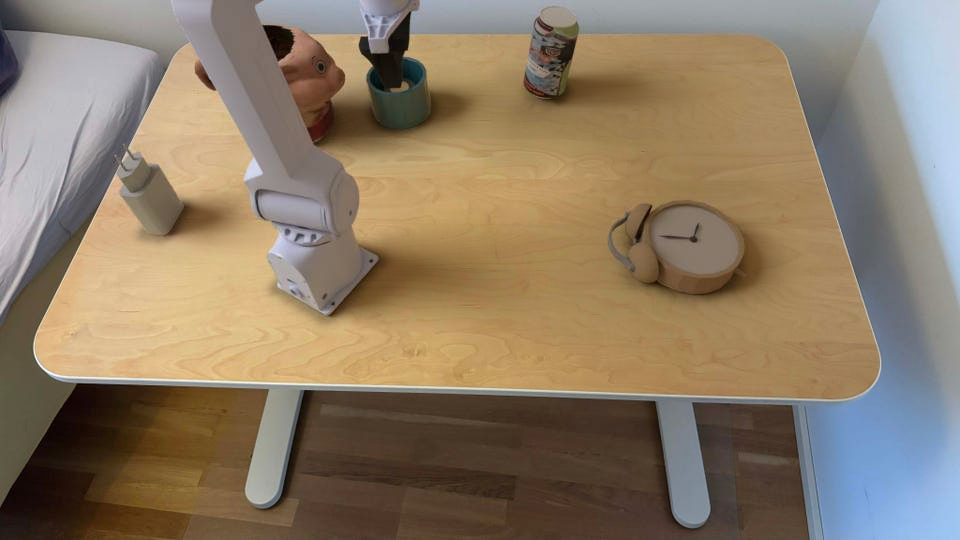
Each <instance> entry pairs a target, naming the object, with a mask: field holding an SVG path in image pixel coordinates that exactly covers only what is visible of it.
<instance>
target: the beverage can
mask: <svg viewBox="0 0 960 540" xmlns="http://www.w3.org/2000/svg"><path fill="white" fill-rule="evenodd" d="M579 33H580V26H579V23H578V16H577V15H576V13H574V12H573V10H571V9H569V8H566V7H562V6H557V5H555V6H551V5H550V6H547V7H544V8H543V9H541V11H540V12H539V14H538V15H537V16H536V18H535V19H534V22H533V27H532V33H531V38H530V44H529V48H528V55H527V60H526V66H525V71H524V77H523V86H524V88H525V90H526V91H527V92H528V93H530V94H531V95H533V96H534V97H535V98H539V99H543V100H545V99H546V100H550V99H554V98H558V97H560V96H561V95H562V94H564V92H565V91H566V86H567V83H568V79H569V75H570V71H571V66H572V61H573V57H574V53H575V49H576V45H577V41H578V37H579Z"/></svg>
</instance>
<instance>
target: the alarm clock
mask: <svg viewBox="0 0 960 540" xmlns="http://www.w3.org/2000/svg"><path fill="white" fill-rule="evenodd" d="M652 209H653V204H650V203H645V202H641V203H640V204H639V203H638V205H636V206H635V207H633V208H632V210H630V211H629V212H627V211H625V212H624V214H623V215H624V217H623V218H620V219H618V220H616V221H615V222H614V223H613V224H612V226H611V227H610V230H609V233H608V235H607V246H608V249H609V252H610V253H611V254H612V256H613V257H614V258H615V259H616V260H617V261H619V262H620V263H622V264H623V265H624V266H625V267H627V271H629V272H630V273H631V275H632V276H633V278H635V279H636V280H638V281H639V282H641V283H644V284H651V283H654V282H658V283H659V284H661V285H662V286H665V287H666V288H669V289H670V290H673V291H675V292H679V293H685V294H690V295H698V294H699V295H701V294H709V293H711V292H714V291H716V290H719V289H721V288H723V287H724V286H725V285H726V284H727V283H728V282H730V280H731V279H732V277H733V275H734V274H736V275H738V276H740V277H742V278H745V276H746V275H747V274H746V273H745V272H744V271H743V270H742V269H740V268H738V267H739V265H740V263H741V262H742V259H743V257H744V255H745V240H744V237H743V235H742V232H741V230H740V228H739V226H738V225H737V224H736V222H734V220H732V218H731V217H729V216H728V215H727V214H726V213H725V212H722V211H721V210H720V209H719V208H717V207H714V206H712V205H709V204H708V203H705V202H701V201H697V200H696V201H695V200H689V199H681V200H671V201H668V202H665V203H662V204H659V205H658V206H657V207H656V208H654V209H653V210H652ZM623 224H624V231H625V235H626V237H627V238H628V239H629V240H630V241H632V243H633V245H632V246H631V247H630V248H629V250H628V252H627V257H626V256H625V255H623V254H622V253H620V252H619V250H618V249H617V248H616V247H615V244H614V242H613V232H614V231H615V230H616V229H617V228H618V227H620V226H622V225H623Z"/></svg>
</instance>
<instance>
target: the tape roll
mask: <svg viewBox="0 0 960 540" xmlns="http://www.w3.org/2000/svg"><path fill="white" fill-rule="evenodd" d="M414 86H415V84H414V82H413V81H411V80H409V79H406V78H402V85H401V88H385V87H384V92H390V93H393V92H402V91H405V90H408V89H410V88H412V87H414Z"/></svg>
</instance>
